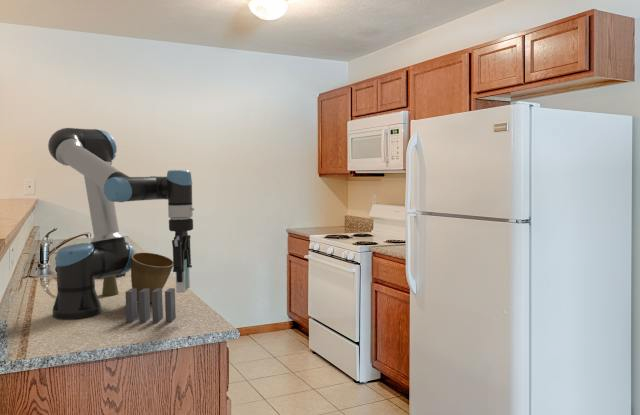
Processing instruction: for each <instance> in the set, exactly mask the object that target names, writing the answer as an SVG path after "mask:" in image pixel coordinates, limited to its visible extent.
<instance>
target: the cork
mask: <svg viewBox="0 0 640 415" xmlns="http://www.w3.org/2000/svg"><path fill="white" fill-rule="evenodd" d="M102 283H103V284H102V293H101V295H102V296H103V297H113V296H118V295H119V289H118V284H117V278H116V277H115V276H111V277H106V278H103V282H102Z"/></svg>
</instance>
